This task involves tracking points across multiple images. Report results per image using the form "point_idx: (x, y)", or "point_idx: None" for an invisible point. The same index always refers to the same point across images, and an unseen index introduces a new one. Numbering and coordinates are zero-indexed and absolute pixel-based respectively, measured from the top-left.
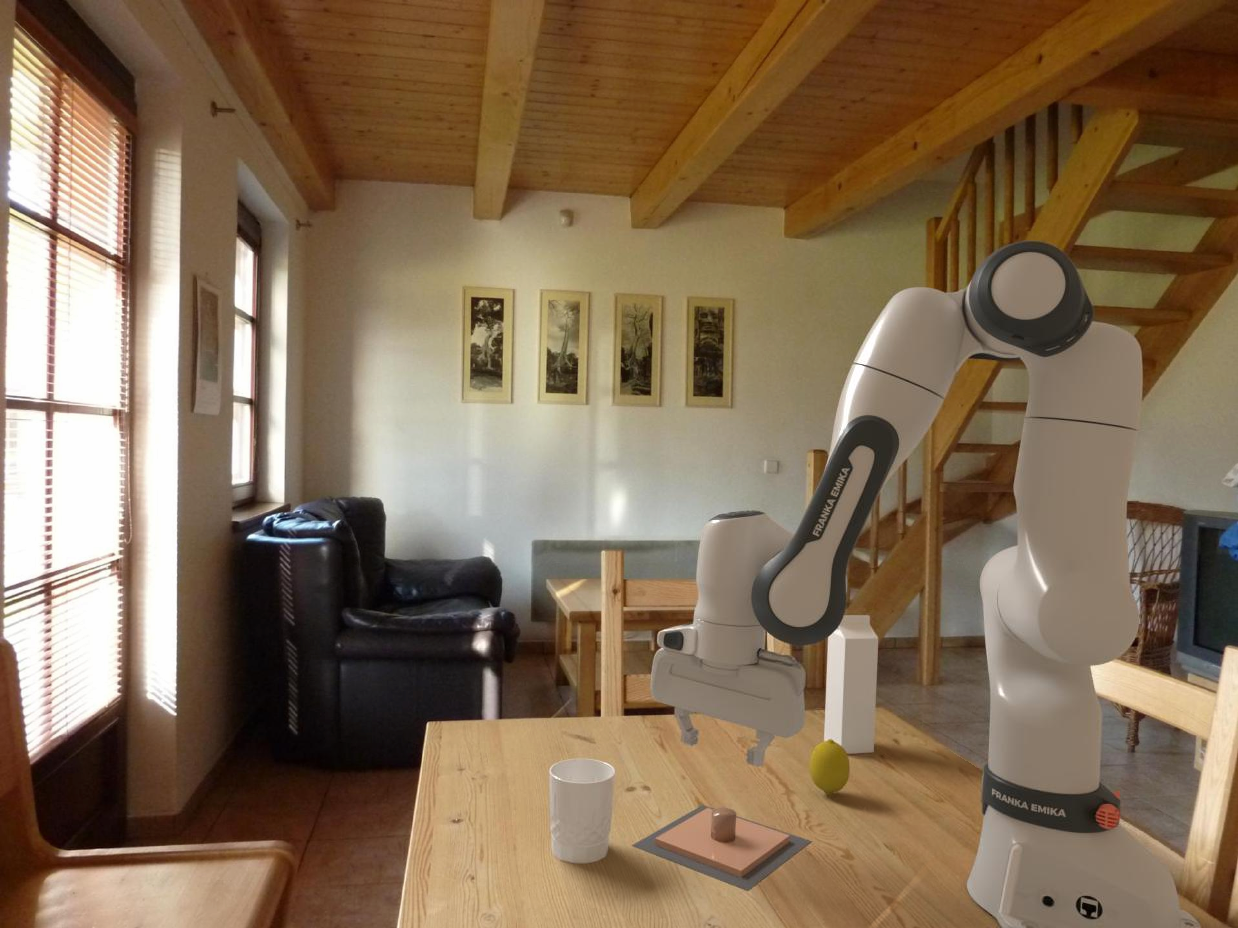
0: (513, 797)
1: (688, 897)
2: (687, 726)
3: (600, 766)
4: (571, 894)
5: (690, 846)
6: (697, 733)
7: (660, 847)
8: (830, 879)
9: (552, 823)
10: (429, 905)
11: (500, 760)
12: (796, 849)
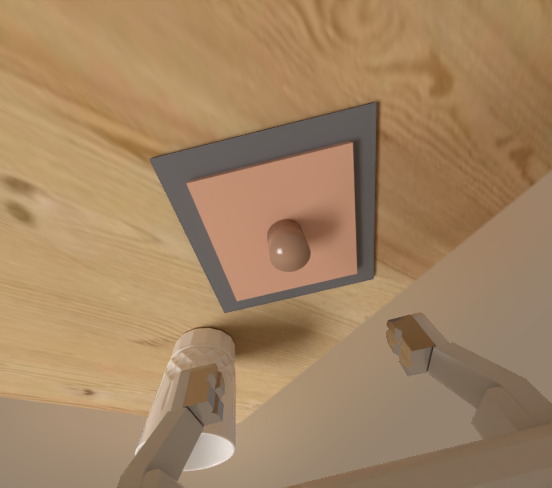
0: (30, 346)
1: (333, 316)
2: (191, 430)
3: None
4: (266, 370)
5: (278, 282)
6: (210, 390)
7: None
8: (437, 177)
9: None
10: None
11: None
12: (370, 154)
